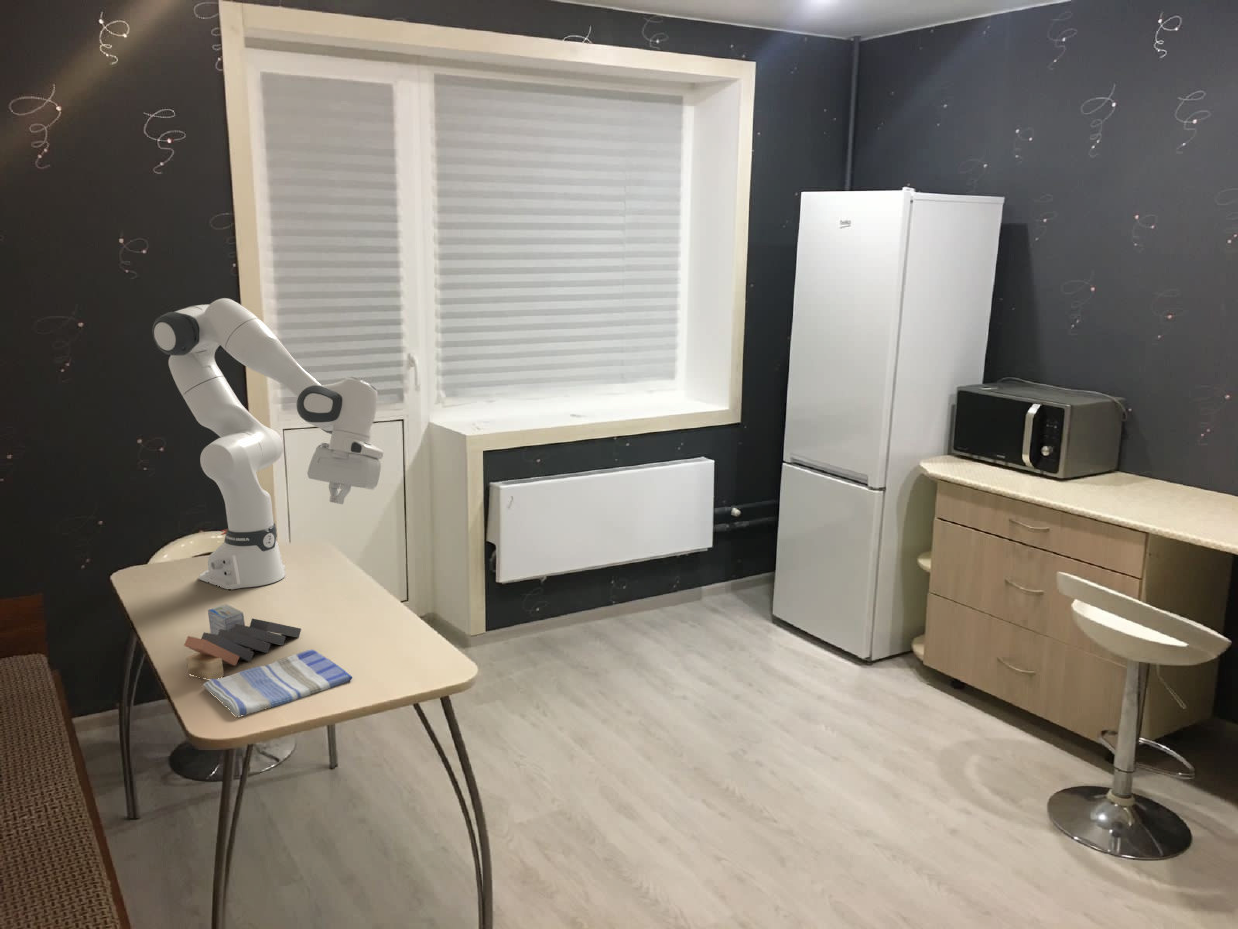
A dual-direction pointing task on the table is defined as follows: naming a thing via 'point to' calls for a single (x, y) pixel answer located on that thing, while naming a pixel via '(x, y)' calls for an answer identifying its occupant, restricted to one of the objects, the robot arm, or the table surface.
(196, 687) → the table surface
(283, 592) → the table surface
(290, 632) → the domino
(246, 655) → the domino
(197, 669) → the end block
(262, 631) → the domino
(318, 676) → the dish towel
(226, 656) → the domino
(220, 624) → the medicine box
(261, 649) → the domino
